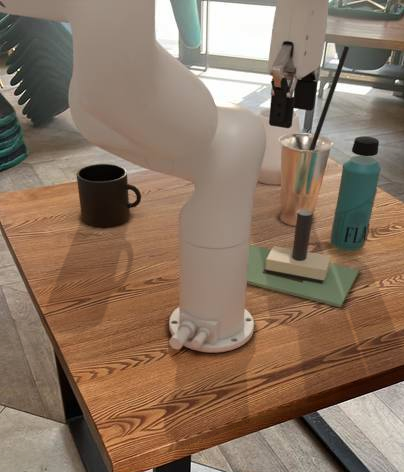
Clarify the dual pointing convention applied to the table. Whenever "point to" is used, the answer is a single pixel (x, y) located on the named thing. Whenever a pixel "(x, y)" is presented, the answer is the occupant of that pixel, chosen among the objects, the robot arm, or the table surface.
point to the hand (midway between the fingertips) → (291, 117)
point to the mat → (327, 292)
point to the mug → (105, 195)
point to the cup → (274, 147)
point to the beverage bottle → (356, 196)
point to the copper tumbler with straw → (305, 163)
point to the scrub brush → (299, 255)
